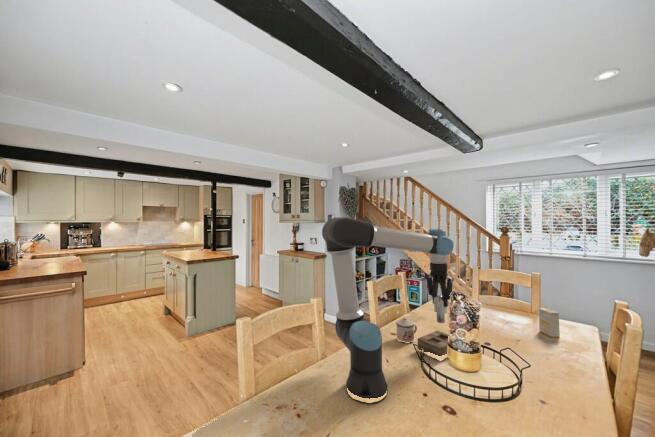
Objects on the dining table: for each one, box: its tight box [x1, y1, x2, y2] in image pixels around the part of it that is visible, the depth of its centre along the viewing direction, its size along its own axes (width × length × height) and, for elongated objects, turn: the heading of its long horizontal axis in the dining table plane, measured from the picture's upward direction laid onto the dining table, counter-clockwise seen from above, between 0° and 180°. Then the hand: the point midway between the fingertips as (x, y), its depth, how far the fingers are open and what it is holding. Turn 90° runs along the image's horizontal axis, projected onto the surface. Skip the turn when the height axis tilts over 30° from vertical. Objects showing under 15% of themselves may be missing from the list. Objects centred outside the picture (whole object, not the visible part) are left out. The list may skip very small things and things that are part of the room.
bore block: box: [417, 330, 450, 356], centre depth 126 cm, size 16×12×6 cm
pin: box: [436, 294, 446, 324], centre depth 123 cm, size 3×3×12 cm
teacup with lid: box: [395, 316, 418, 342], centre depth 139 cm, size 12×9×12 cm
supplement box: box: [538, 307, 560, 338], centre depth 143 cm, size 8×5×13 cm, turn 179°
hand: (440, 312), depth 123 cm, fingers closed on pin, 3 cm apart
